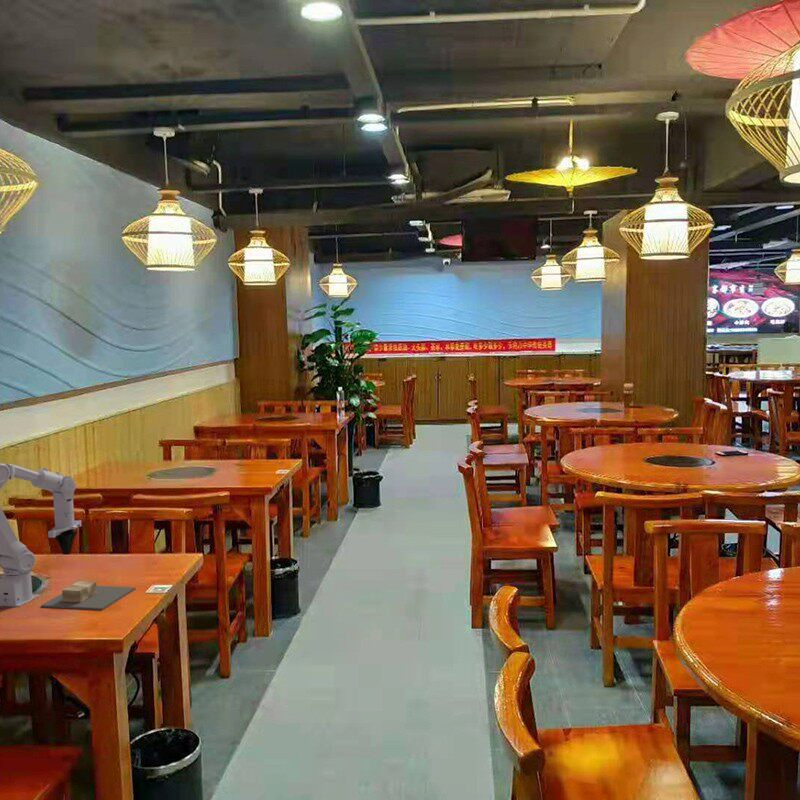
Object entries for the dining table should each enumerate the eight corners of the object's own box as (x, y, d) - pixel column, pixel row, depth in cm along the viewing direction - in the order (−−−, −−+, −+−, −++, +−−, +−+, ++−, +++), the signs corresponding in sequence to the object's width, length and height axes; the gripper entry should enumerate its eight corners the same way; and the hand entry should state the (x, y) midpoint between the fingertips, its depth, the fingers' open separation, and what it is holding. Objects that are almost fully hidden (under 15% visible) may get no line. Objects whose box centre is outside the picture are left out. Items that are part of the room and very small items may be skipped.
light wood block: (96, 593, 231) (80, 602, 223) (79, 592, 232) (62, 601, 224) (96, 582, 230) (80, 590, 223) (78, 581, 232) (62, 589, 224)
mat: (102, 610, 218) (102, 608, 218) (41, 607, 222) (40, 605, 222) (135, 589, 236) (135, 587, 236) (77, 586, 240) (77, 585, 239)
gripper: (61, 518, 235) (64, 560, 236) (88, 507, 249) (91, 547, 250) (40, 517, 236) (43, 560, 237) (69, 507, 250) (72, 547, 251)
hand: (66, 553), depth 244 cm, fingers closed
